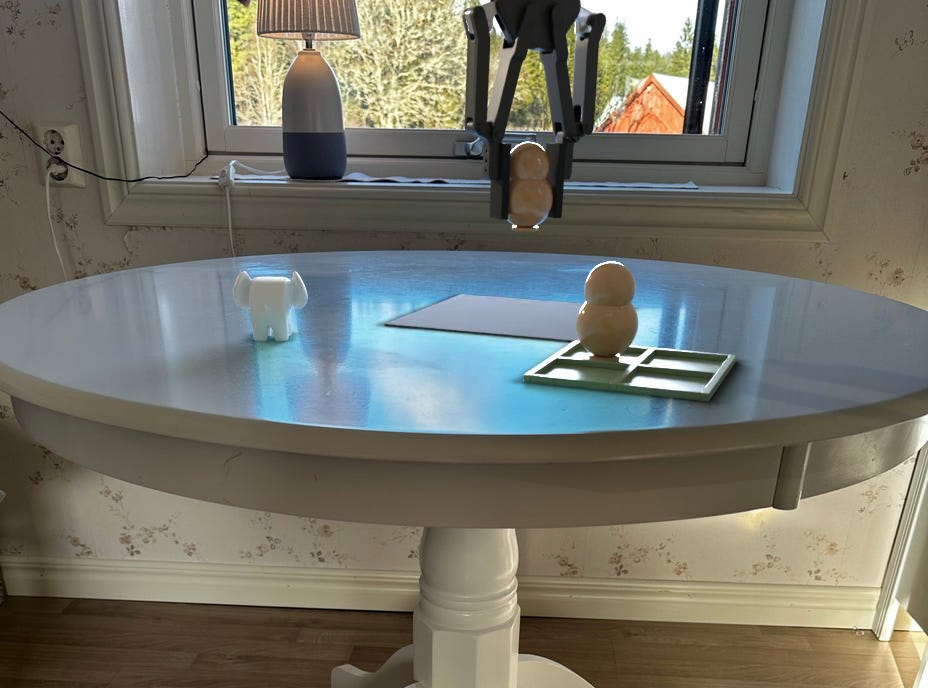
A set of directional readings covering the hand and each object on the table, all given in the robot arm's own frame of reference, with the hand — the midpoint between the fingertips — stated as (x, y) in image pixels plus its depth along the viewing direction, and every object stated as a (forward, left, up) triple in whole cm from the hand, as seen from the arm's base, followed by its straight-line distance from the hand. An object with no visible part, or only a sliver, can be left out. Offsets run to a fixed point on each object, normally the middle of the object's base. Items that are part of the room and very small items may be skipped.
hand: (525, 217), depth 94 cm
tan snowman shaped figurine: (0, 0, -1) cm, 1 cm away
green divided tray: (-16, +19, -10) cm, 27 cm away
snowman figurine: (-13, +16, -9) cm, 22 cm away
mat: (+1, 0, -10) cm, 10 cm away
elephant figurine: (+18, +19, -10) cm, 28 cm away
